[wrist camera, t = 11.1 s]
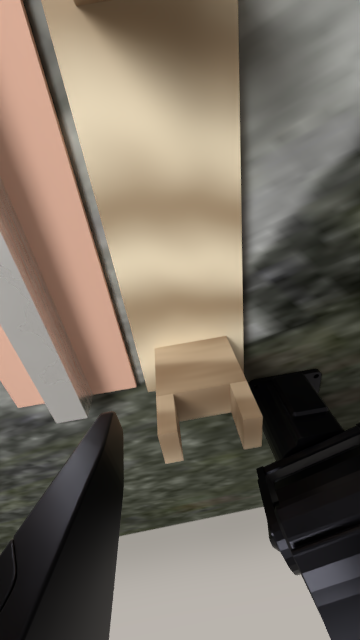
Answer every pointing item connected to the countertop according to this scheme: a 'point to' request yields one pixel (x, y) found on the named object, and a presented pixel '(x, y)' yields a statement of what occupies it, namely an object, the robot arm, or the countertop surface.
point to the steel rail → (37, 324)
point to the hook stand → (167, 190)
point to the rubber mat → (52, 219)
